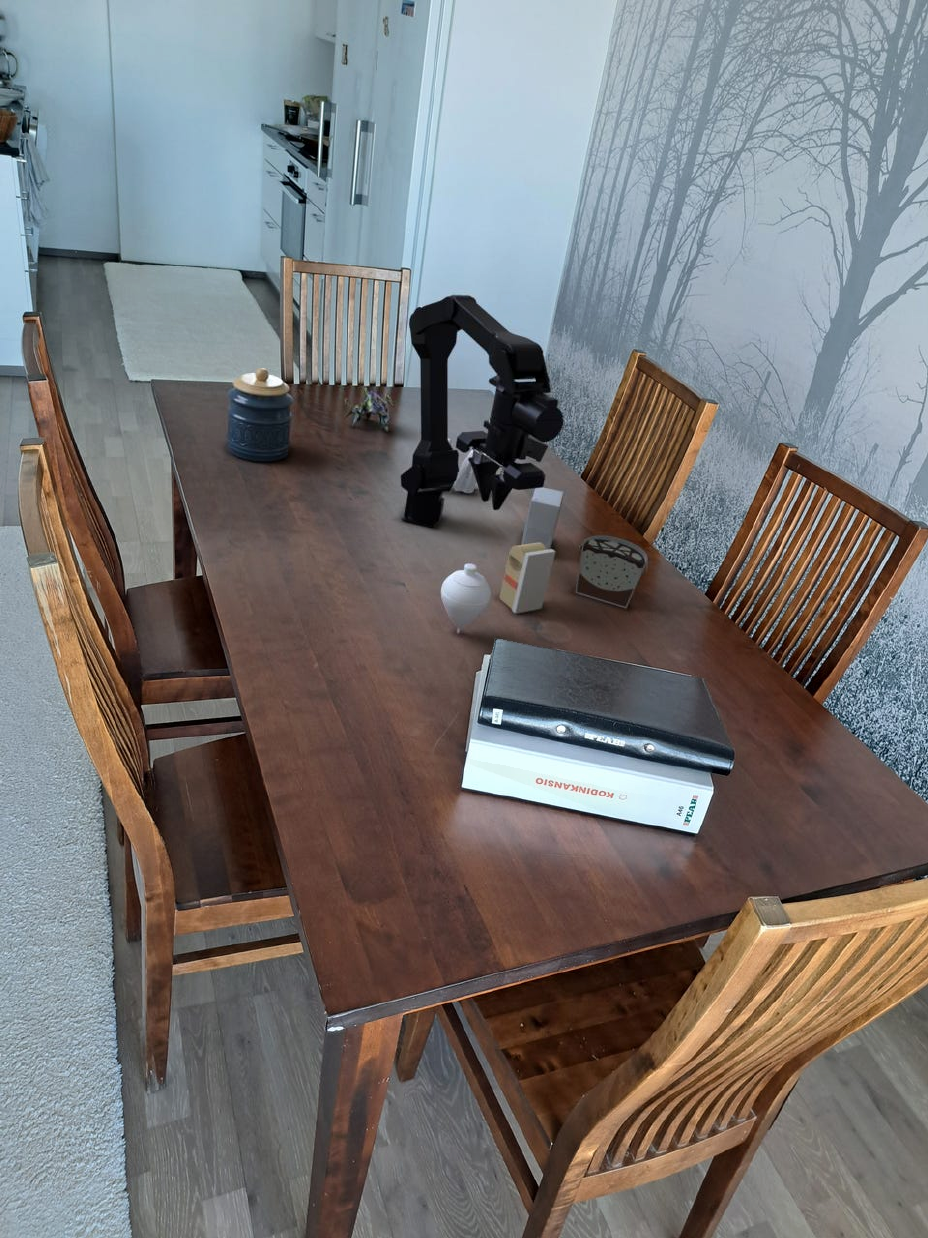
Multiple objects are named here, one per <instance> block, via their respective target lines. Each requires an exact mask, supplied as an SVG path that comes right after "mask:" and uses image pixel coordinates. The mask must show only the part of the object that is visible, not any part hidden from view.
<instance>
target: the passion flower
mask: <svg viewBox="0 0 928 1238" xmlns="http://www.w3.org/2000/svg"><path fill="white" fill-rule="evenodd" d="M363 392H364V394H365V397H366V399H365V400H364V401H362V400H361V404H355V406H354V407H352V405H351V404H350V403H349V402H348V401H349V398H348V397H345V398H344V406H349V407H350V410H349V411H348V412H347V413H345V415H344V417H343V418H344V419H346V418H348V417H349V416H350V415H354V419H353V422H352V425H351V426H350V427H351V428H353V427H354V426H355V424H357V423H358V422H360V421H361V419H362V418H363V417H364V416H365V417H364V419H365V421H367V420H370V419H371V416H372V415H378V418H379V426H380V428H381V430H382V431H384V432H388V431H389V427H388V425H389V424H390V422H391V421H392V417H391V410H390V409H389V408H388V407H387V404H388V405H390V406H391V407H392V408H395V407H396V406H395V403H394V401H393V399H392V398H391V396H390V394H389V393H388V392H386V393H385V394H384V399H385V401H384V400H383V399H382V396H380V395H379V394H378V393H377V392H376V391H373V390H372V389H371V390H370V391H369V390H368V388H367V387H364V388H363Z"/></svg>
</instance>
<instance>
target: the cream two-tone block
mask: <svg viewBox="0 0 928 1238" xmlns="http://www.w3.org/2000/svg"><path fill="white" fill-rule="evenodd" d="M555 555H556V550H555V549H552V548H550V549H548V550H547V549H546V547H545V546H544V544H542V543H540V542H537V543H531V544H524V545H521V544H518V545H513V546H512V547H511V548H510V549H509V552H508V557H507V562H506V565H505V570H504V574H503V575H504V576H503V579H502V584H501V588H500V594H499V600H501V602H503V603H504V604H505V605H506V606H507V607H509V608H510V610H511V612H512V613H514V614H515V615H517V614H522V613H527V612H532V611H536V610H537V611H538V610H541V609H542V608H543V604H544V599H545V596H546V592H547V588H548V584H549V579H550V575H551V573H552V572H551V571H552V569H553V568H552V567H553V564H554V559H555Z"/></svg>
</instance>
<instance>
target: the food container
mask: <svg viewBox="0 0 928 1238" xmlns="http://www.w3.org/2000/svg"><path fill="white" fill-rule="evenodd" d="M580 550H581V551H580ZM579 551H580V558H579V564H578V571H577V579H576V586H575V591H574V592H575V594H578V595H581V596H584V597H587V598H590V599H594V600H597V601H599V602H603V603H606V604H609V605H613V606H616V607H619V608H622V609H626V610H627V608H628V606H629V604H630V602H631V600H632V597H633V595H634V592H635V590H636V588H637V586H638V583H639V581H640V578H641V576H642V574H643V572H644V570H645V572H647V573H648V566H649V565H648V564H649V560H648V555H647V553H646V552H645V551H644V550H643V549H642V548H641V547H640V546H638V545H637V544H635V543H633V542H631V541H629V540H626V539H623V538H619V537H616V536H610V535H591V536H588V537H586V538H585V539H584V540H583V541H582V542H581V544H580V545H579V547H578V549H577V552H579Z"/></svg>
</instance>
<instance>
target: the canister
mask: <svg viewBox="0 0 928 1238" xmlns="http://www.w3.org/2000/svg"><path fill="white" fill-rule="evenodd" d="M232 386H233V387H232V388H231V389H229V391H228V393H227V396H228V398H229V399H230V403H229V406H228V407H227V413H228V414H227V416H228V417H227V435H226V445H227V450H228V452H229V453H230V454H232V455H233V456H235V457H237V458H240V459H243V460H247V461H253V462H263V463H265V462H276V461H280V460H282V459H285V458H286V457H288V454H289V450H290V449H291V448H290V447H291V446H290V445H291V442H290V433H291V422H292V418H293V414H292V412H291V406H292V404H293V403H294V398H293V396H291V394H290V393H289V392H290V389H291V388H290V386H289V384H287V383H286V382H284V380H282V378H280V377H278V376H275V375H272V374H270V373H269V371H268V370H267V369H266V368H263V367H260V368H257V369H256V371H255V372H250V373H249V372H248V373H245V374H242V375H241V376H239V377H237V378H235V379H234V380H233V381H232Z"/></svg>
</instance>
